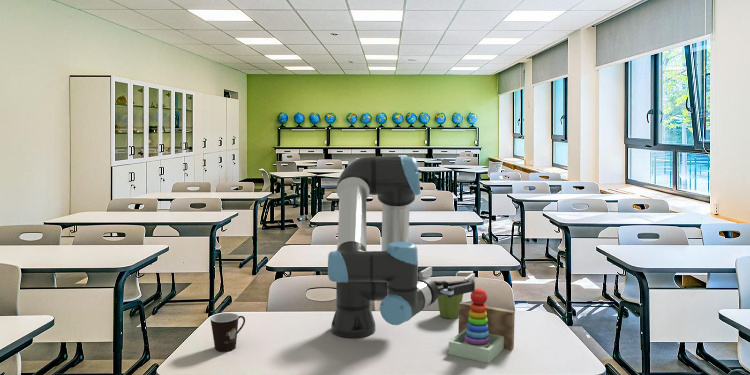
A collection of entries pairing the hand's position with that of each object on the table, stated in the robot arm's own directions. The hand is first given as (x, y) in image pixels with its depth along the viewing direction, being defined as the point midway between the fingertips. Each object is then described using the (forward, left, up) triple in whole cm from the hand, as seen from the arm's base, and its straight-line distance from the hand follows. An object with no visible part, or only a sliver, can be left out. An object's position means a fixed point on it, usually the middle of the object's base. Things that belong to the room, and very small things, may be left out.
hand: (451, 274), depth 168 cm
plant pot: (-17, +37, -26) cm, 48 cm away
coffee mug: (-64, -27, -26) cm, 74 cm away
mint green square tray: (+4, +10, -26) cm, 28 cm away
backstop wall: (+4, +18, -26) cm, 32 cm away
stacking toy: (+4, +11, -25) cm, 28 cm away
